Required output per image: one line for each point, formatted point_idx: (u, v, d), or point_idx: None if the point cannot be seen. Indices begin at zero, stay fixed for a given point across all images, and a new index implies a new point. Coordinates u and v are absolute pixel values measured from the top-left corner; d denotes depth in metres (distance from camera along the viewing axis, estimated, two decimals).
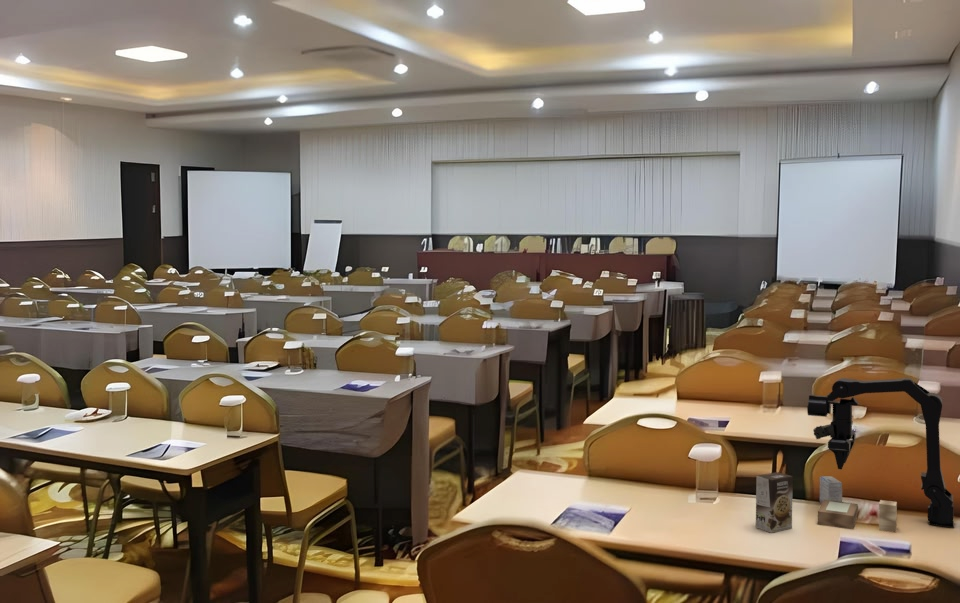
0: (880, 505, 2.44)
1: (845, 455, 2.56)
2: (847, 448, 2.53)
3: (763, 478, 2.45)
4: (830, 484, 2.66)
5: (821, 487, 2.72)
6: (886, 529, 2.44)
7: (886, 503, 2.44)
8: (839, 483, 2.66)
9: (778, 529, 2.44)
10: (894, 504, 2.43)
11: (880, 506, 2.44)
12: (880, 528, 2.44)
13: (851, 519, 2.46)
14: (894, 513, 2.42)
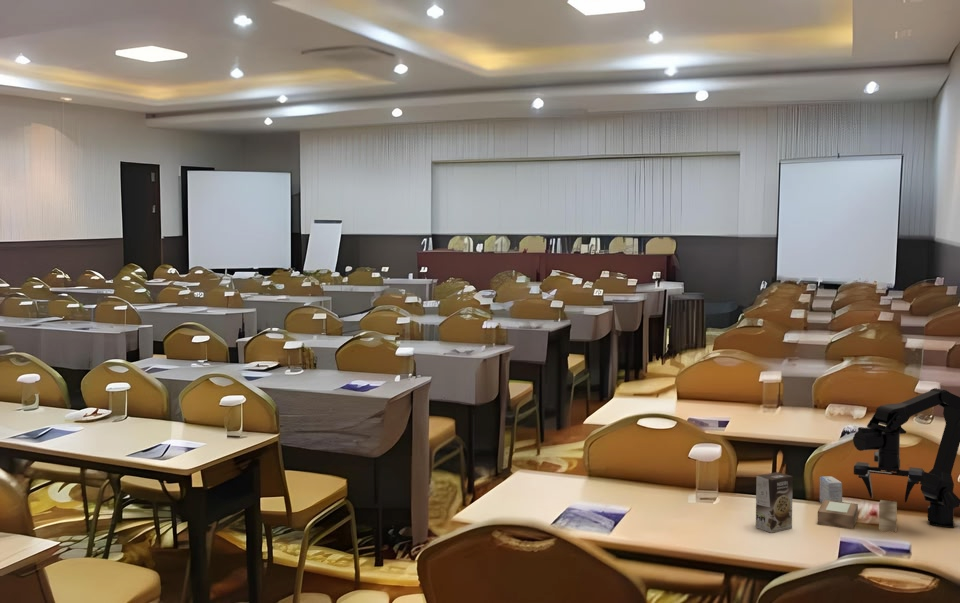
0: (880, 505, 2.44)
1: None
2: (854, 472, 2.47)
3: (763, 478, 2.45)
4: (830, 484, 2.66)
5: (821, 487, 2.72)
6: (886, 529, 2.44)
7: (886, 503, 2.44)
8: (839, 483, 2.66)
9: (778, 529, 2.44)
10: (894, 504, 2.43)
11: (880, 506, 2.44)
12: (880, 528, 2.44)
13: (851, 519, 2.46)
14: (894, 513, 2.42)
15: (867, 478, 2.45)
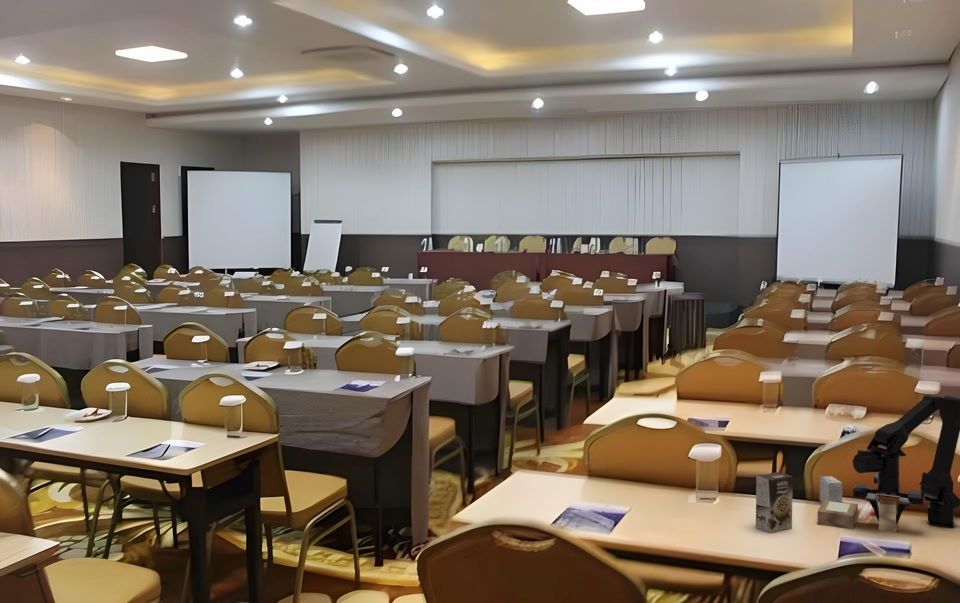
0: (880, 505, 2.44)
1: None
2: (853, 494, 2.47)
3: (763, 478, 2.45)
4: (830, 484, 2.66)
5: (821, 487, 2.72)
6: (886, 529, 2.44)
7: (886, 503, 2.44)
8: (839, 483, 2.66)
9: (778, 529, 2.44)
10: (894, 504, 2.43)
11: (880, 506, 2.44)
12: (880, 528, 2.44)
13: (851, 519, 2.46)
14: (894, 513, 2.42)
15: (875, 501, 2.44)
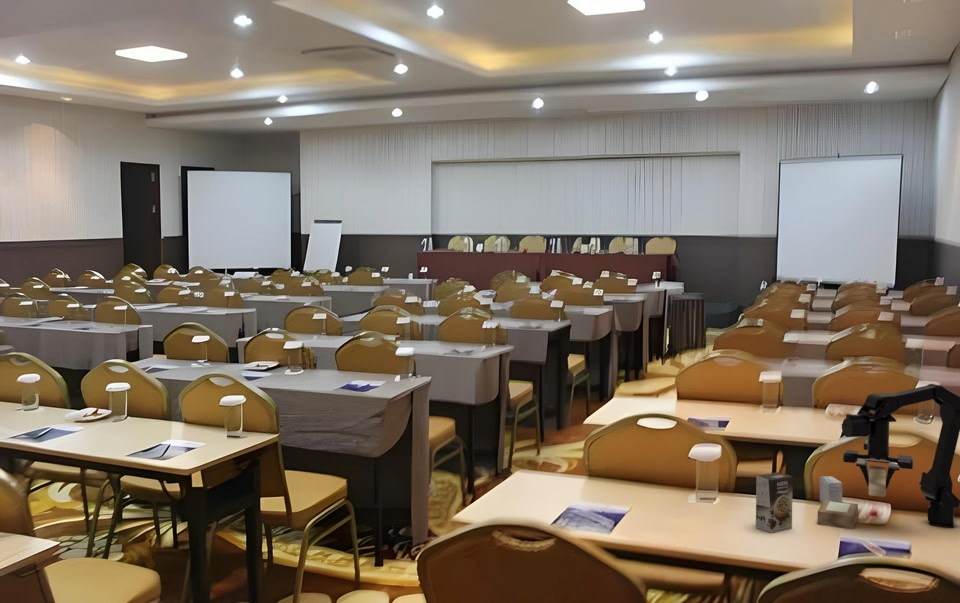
0: (870, 470, 2.45)
1: None
2: (843, 460, 2.48)
3: (763, 478, 2.45)
4: (830, 484, 2.66)
5: (821, 487, 2.72)
6: (876, 494, 2.45)
7: (876, 468, 2.46)
8: (839, 483, 2.66)
9: (778, 529, 2.44)
10: (884, 469, 2.44)
11: (870, 471, 2.45)
12: (870, 493, 2.45)
13: (851, 519, 2.46)
14: (884, 478, 2.43)
15: (864, 466, 2.45)
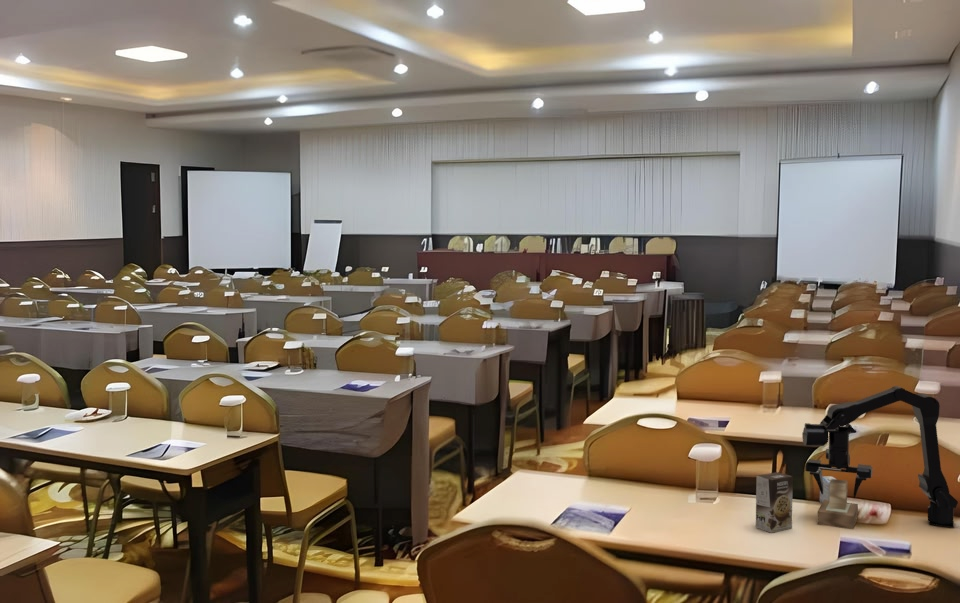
0: (831, 484, 2.52)
1: None
2: (805, 469, 2.56)
3: (763, 478, 2.45)
4: None
5: None
6: (836, 507, 2.52)
7: (836, 482, 2.53)
8: None
9: (778, 529, 2.44)
10: (844, 483, 2.52)
11: (831, 484, 2.52)
12: (831, 506, 2.53)
13: (851, 519, 2.46)
14: (844, 491, 2.51)
15: (818, 475, 2.54)
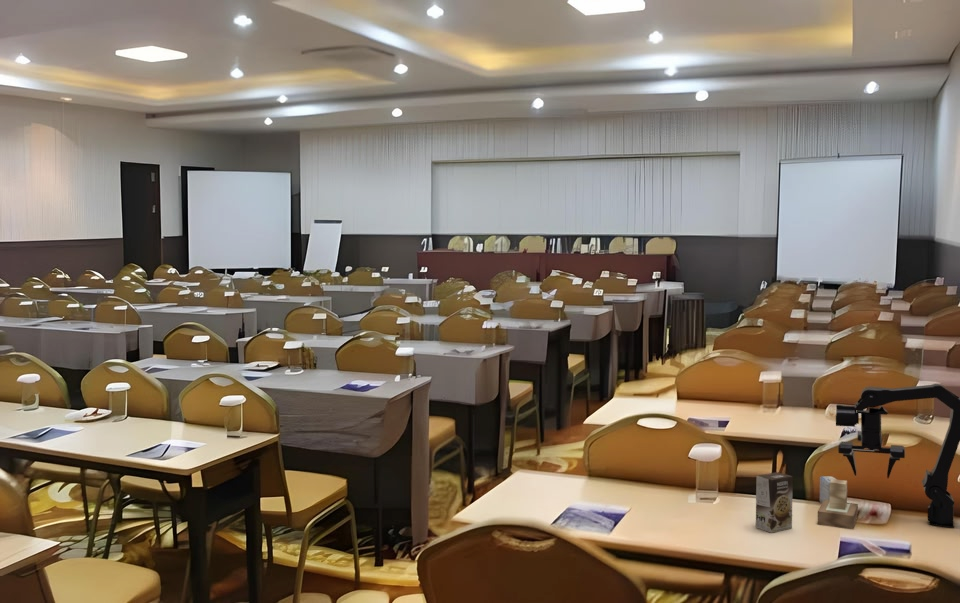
0: (831, 484, 2.52)
1: None
2: (838, 451, 2.59)
3: (763, 478, 2.45)
4: None
5: (821, 487, 2.72)
6: (836, 507, 2.52)
7: (836, 482, 2.53)
8: None
9: (778, 529, 2.44)
10: (844, 483, 2.52)
11: (831, 484, 2.52)
12: (831, 506, 2.53)
13: (851, 519, 2.46)
14: (844, 491, 2.51)
15: (851, 456, 2.57)
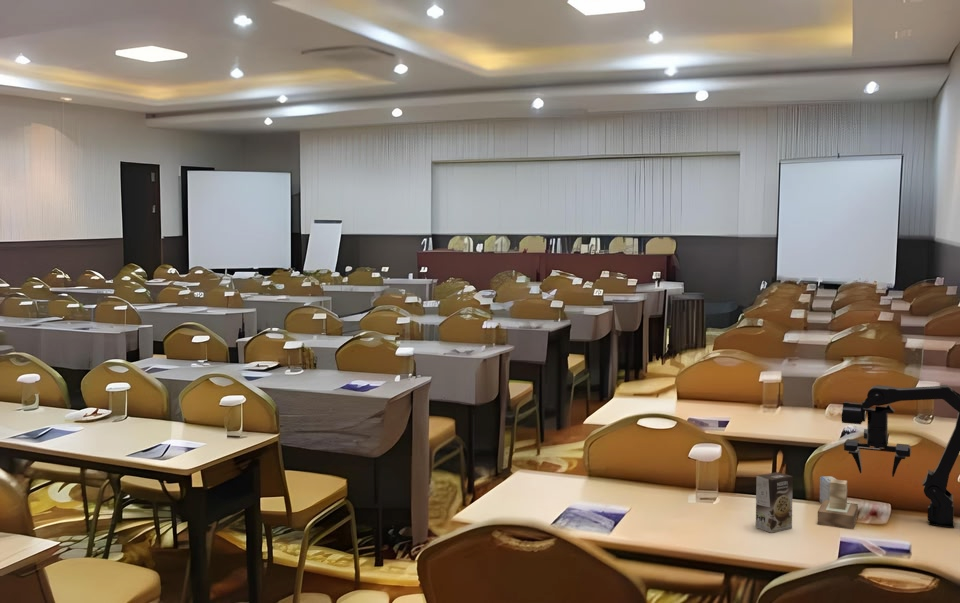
0: (831, 484, 2.52)
1: None
2: (844, 448, 2.60)
3: (763, 478, 2.45)
4: None
5: (821, 487, 2.72)
6: (836, 507, 2.52)
7: (836, 482, 2.53)
8: None
9: (778, 529, 2.44)
10: (844, 483, 2.52)
11: (831, 484, 2.52)
12: (831, 506, 2.53)
13: (851, 519, 2.46)
14: (844, 491, 2.51)
15: (857, 454, 2.58)
